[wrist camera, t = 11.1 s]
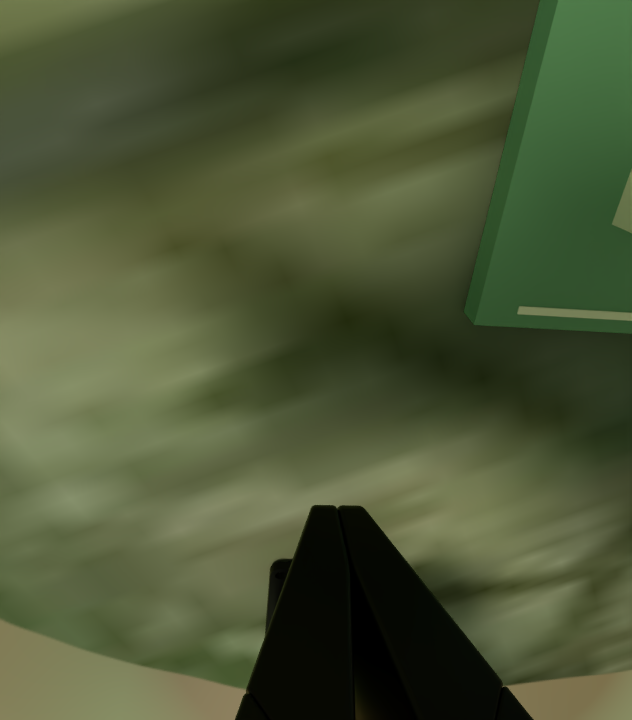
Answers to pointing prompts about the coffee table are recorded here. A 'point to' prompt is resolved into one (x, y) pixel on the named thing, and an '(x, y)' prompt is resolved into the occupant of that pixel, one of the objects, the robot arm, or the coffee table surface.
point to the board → (564, 180)
